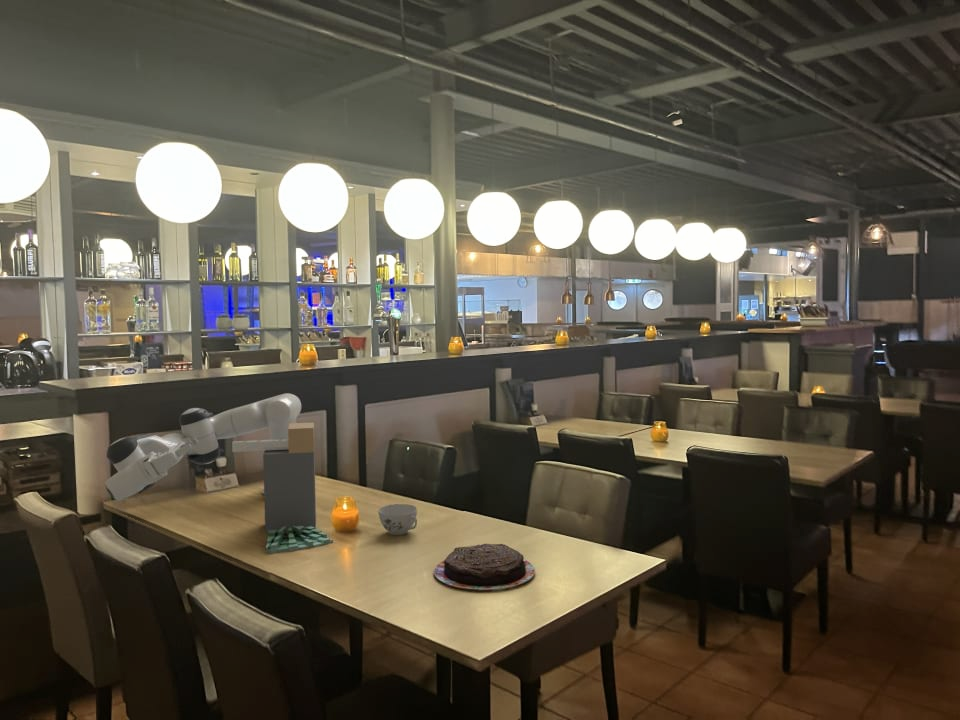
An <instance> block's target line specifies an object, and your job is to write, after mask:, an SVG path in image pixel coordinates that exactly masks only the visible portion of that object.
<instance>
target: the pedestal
mask: <svg viewBox="0 0 960 720" xmlns="http://www.w3.org/2000/svg"><path fill="white" fill-rule="evenodd" d="M288 444H289V450H267V451H263V454H262V455H263V456H262V457H263V458H262V459H263V464H262V465H263V490H264V494H263V495H264V496H263V498H264V499H263V500H264V502H263V503H264V529H265V533H264V534H268V531H269V530H277V529H278V531H279V530H280V529H281V528H282V527H283V526H286V533H288V528H291V529H292V533H293V527H292V526H295V527H298V526H303V527H310V526H312V527H315V529H317V525H316V524H317V508H316V507H317V505H316V503H317V502H316V466H315V465H316V464H315V463H316V462H315V461H316V460H315V459H316V458H315V456H316V455H315V453H316V452H315V422H296V423H290V424H289V428H288Z"/></svg>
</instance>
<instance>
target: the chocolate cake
mask: <svg viewBox="0 0 960 720" xmlns="http://www.w3.org/2000/svg"><path fill="white" fill-rule="evenodd" d="M535 573H536V570H535V567H534V565H533V564H532V563H531V562H530V561H528V560H526V559H524V555H523V554H522V553H520V552H519V550H516V549H514V548H513V547H510V546H509V545H506V544H504V543H483V544H476V545H469V546H459V547H455V548H454V549H453V551H452V552H450V554H448V555H447V556H446V557H445V559H444V560H443V561H440V562H439V563H438V564H437V565H436V566H435V567H434V568H433V575H434V577H435V579H437V580H438V582H441V583H443V584H444V585H445V586H446V587H448V588H457V589H459V590H461V591H467V592H472V593H473V592H474V593H483V592H484V593H485V592H486V593H487V592H495V591H498V592H499V591H503V590H504V591H505V590H512V589H515V588H516V587H517V586H520V585H522V584H525V583H530V582H531V580H532V578H533V577H534V575H535Z"/></svg>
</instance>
